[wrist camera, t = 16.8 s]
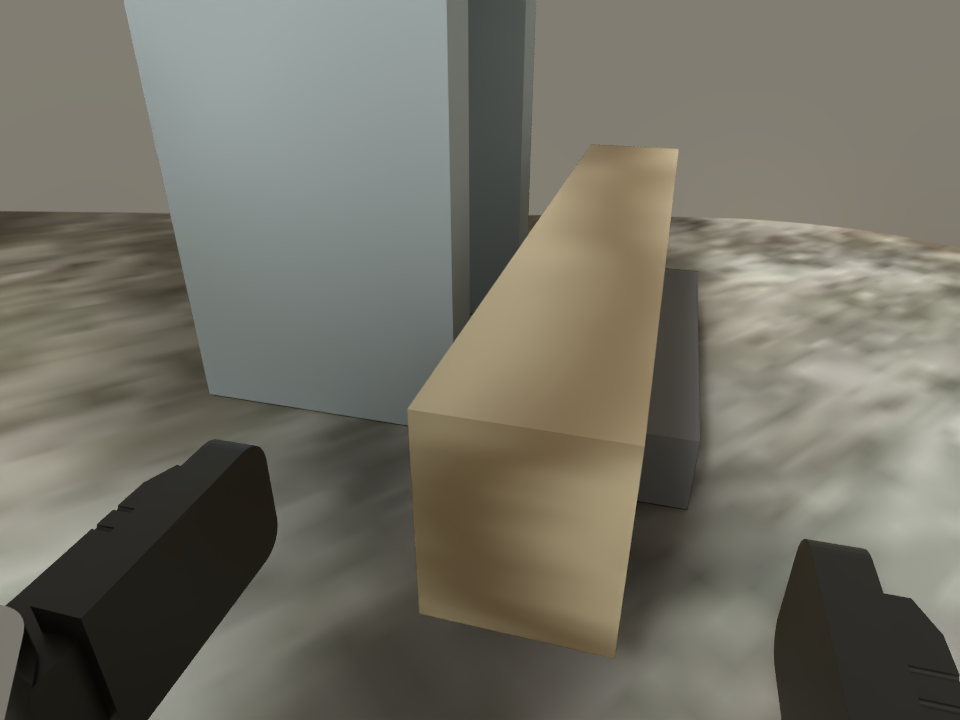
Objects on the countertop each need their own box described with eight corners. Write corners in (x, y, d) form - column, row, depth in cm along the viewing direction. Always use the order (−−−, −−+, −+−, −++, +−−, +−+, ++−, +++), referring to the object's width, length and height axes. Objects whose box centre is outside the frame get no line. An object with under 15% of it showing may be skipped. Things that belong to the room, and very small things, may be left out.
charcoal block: (451, 468, 22) (450, 404, 21) (535, 303, 34) (537, 256, 33) (687, 509, 21) (699, 441, 19) (689, 320, 33) (697, 271, 31)
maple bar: (419, 613, 14) (406, 409, 12) (583, 246, 34) (590, 144, 32) (614, 658, 13) (644, 446, 11) (664, 253, 33) (678, 149, 31)
